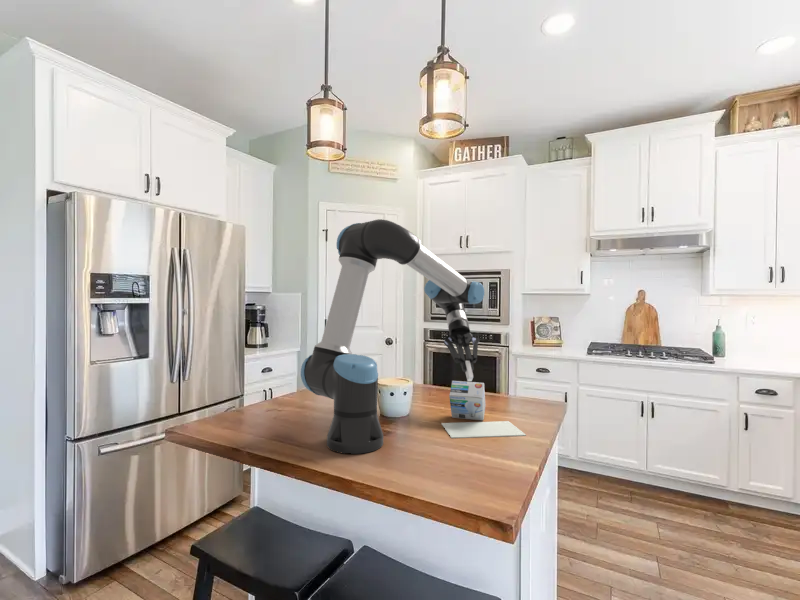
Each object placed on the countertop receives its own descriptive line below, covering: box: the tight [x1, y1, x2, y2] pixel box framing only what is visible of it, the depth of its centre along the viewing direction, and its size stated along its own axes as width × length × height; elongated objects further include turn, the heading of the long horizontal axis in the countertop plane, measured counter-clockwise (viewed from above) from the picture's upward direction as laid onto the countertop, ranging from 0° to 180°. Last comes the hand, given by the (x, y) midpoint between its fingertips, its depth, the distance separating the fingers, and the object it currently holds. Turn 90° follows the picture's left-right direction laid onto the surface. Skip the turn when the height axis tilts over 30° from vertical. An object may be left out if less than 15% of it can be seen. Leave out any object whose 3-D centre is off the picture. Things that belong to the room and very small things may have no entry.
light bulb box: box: [448, 380, 487, 422], centre depth 135 cm, size 11×7×11 cm
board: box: [441, 420, 527, 439], centre depth 125 cm, size 22×13×1 cm, turn 97°
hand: (470, 379), depth 137 cm, fingers closed
